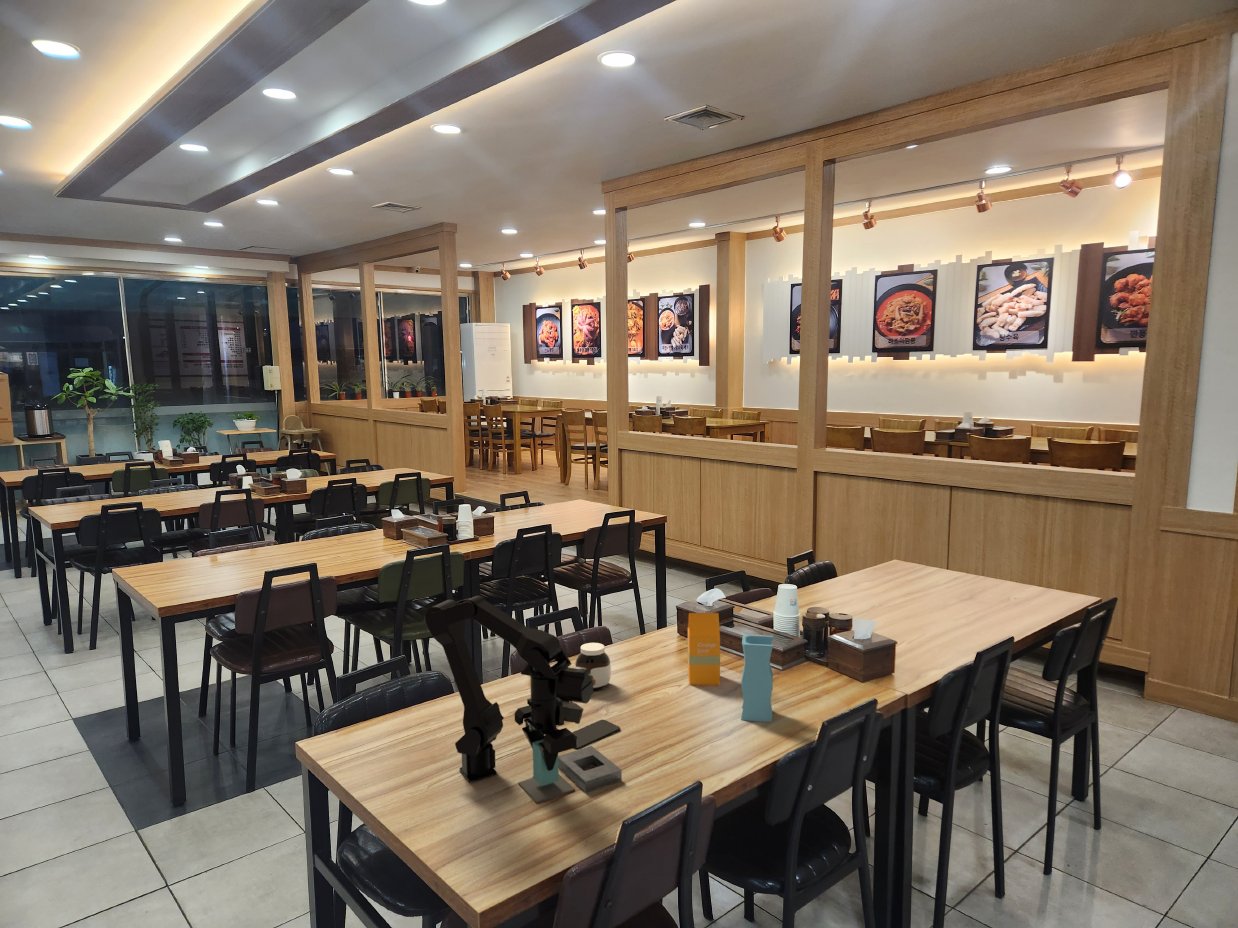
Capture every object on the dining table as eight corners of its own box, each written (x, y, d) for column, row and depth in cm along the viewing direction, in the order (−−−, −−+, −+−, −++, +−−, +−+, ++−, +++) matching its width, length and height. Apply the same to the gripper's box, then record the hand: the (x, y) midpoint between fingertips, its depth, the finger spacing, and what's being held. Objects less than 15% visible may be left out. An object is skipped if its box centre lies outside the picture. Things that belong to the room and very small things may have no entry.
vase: (772, 722, 191) (773, 645, 189) (741, 719, 193) (741, 644, 191) (772, 709, 199) (773, 635, 197) (742, 706, 201) (742, 634, 198)
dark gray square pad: (536, 803, 155) (536, 801, 155) (518, 784, 163) (518, 782, 163) (574, 790, 160) (574, 788, 160) (555, 772, 168) (555, 770, 168)
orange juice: (720, 684, 215) (720, 616, 213) (689, 684, 216) (689, 617, 214) (717, 674, 223) (717, 608, 221) (687, 674, 223) (687, 608, 221)
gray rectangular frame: (585, 792, 159) (585, 781, 159) (557, 766, 170) (557, 756, 170) (621, 780, 164) (621, 769, 164) (591, 755, 175) (591, 745, 175)
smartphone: (556, 738, 183) (602, 718, 193) (556, 742, 183) (602, 721, 193) (576, 748, 178) (622, 727, 188) (576, 752, 178) (622, 731, 188)
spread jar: (612, 681, 219) (611, 642, 218) (607, 697, 208) (607, 656, 207) (571, 680, 220) (570, 641, 219) (564, 695, 209) (563, 655, 208)
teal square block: (541, 785, 159) (540, 749, 158) (533, 777, 162) (532, 742, 161) (558, 780, 161) (557, 744, 160) (550, 772, 164) (549, 737, 163)
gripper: (599, 702, 156) (600, 773, 157) (557, 673, 172) (559, 738, 173) (551, 715, 150) (552, 789, 152) (512, 683, 166) (514, 751, 167)
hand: (545, 765), depth 161 cm, fingers closed on teal square block, 4 cm apart
